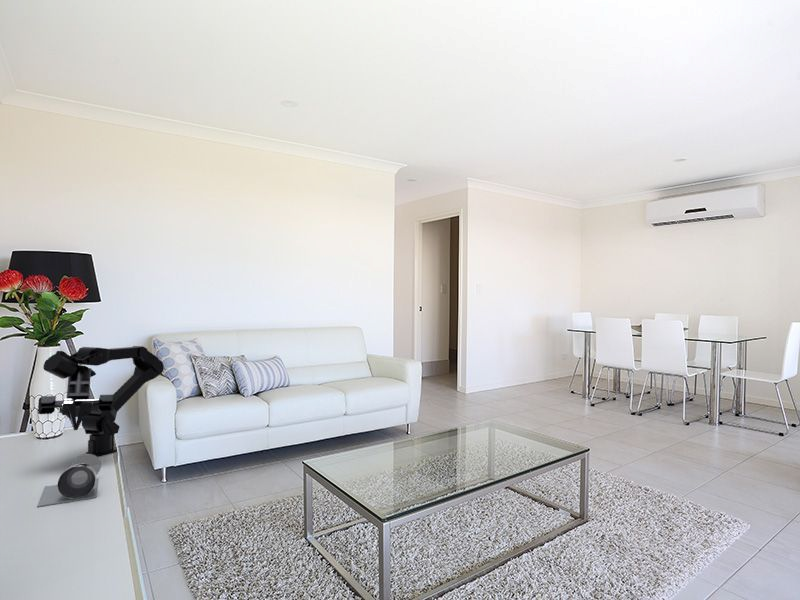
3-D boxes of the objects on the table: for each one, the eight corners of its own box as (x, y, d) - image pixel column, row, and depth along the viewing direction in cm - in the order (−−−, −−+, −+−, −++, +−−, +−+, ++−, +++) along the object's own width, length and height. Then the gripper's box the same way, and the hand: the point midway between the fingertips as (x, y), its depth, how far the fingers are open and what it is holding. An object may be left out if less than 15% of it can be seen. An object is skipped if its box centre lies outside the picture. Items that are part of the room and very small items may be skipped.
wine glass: (70, 452, 131) (59, 467, 118) (104, 451, 135) (97, 465, 121) (67, 482, 130) (55, 500, 117) (100, 480, 134) (93, 497, 120)
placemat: (45, 487, 127) (45, 486, 127) (98, 479, 133) (98, 478, 133) (37, 507, 115) (37, 506, 115) (96, 497, 121) (96, 496, 121)
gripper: (111, 397, 157) (110, 440, 148) (40, 399, 146) (34, 446, 137) (115, 377, 150) (114, 421, 141) (41, 378, 140) (35, 426, 131)
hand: (75, 429), depth 138 cm, fingers closed
